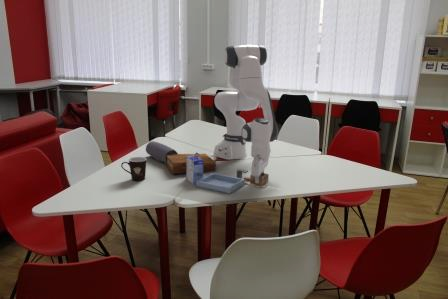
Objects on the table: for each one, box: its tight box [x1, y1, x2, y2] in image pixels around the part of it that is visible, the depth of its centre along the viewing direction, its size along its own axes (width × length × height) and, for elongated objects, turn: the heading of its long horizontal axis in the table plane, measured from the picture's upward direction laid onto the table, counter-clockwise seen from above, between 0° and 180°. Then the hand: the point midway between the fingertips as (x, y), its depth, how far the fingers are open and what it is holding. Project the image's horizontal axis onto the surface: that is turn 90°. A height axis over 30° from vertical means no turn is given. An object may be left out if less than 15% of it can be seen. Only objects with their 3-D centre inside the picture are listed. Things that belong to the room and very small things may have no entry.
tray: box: [195, 172, 246, 195], centre depth 181 cm, size 18×15×3 cm
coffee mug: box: [120, 156, 148, 182], centre depth 189 cm, size 12×9×10 cm
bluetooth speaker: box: [145, 140, 179, 164], centre depth 218 cm, size 23×9×10 cm, turn 39°
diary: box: [164, 153, 217, 175], centre depth 205 cm, size 23×19×6 cm
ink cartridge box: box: [185, 152, 204, 186], centre depth 186 cm, size 10×6×14 cm, turn 26°
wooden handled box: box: [236, 168, 269, 189], centre depth 187 cm, size 18×9×5 cm, turn 59°
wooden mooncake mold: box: [242, 172, 269, 186], centre depth 186 cm, size 12×7×4 cm, turn 59°
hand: (259, 180), depth 185 cm, fingers closed on wooden mooncake mold, 7 cm apart
